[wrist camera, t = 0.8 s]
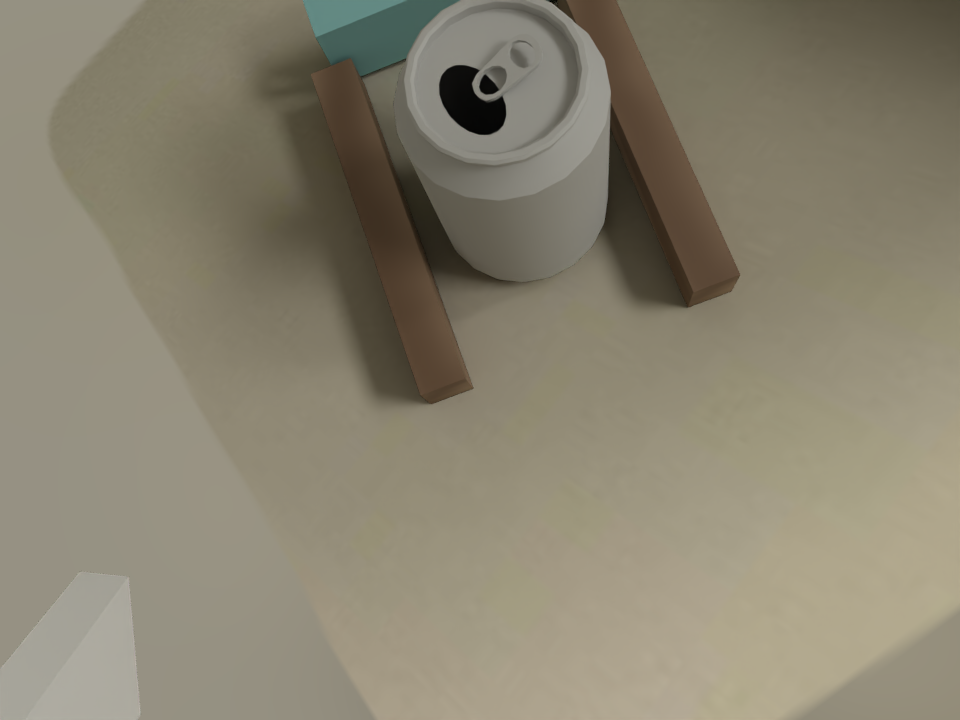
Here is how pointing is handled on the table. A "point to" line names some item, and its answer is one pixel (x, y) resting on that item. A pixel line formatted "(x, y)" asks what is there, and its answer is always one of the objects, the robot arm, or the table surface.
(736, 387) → the table surface
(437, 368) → the chute
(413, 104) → the can
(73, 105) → the table surface
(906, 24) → the table surface
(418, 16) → the bar
